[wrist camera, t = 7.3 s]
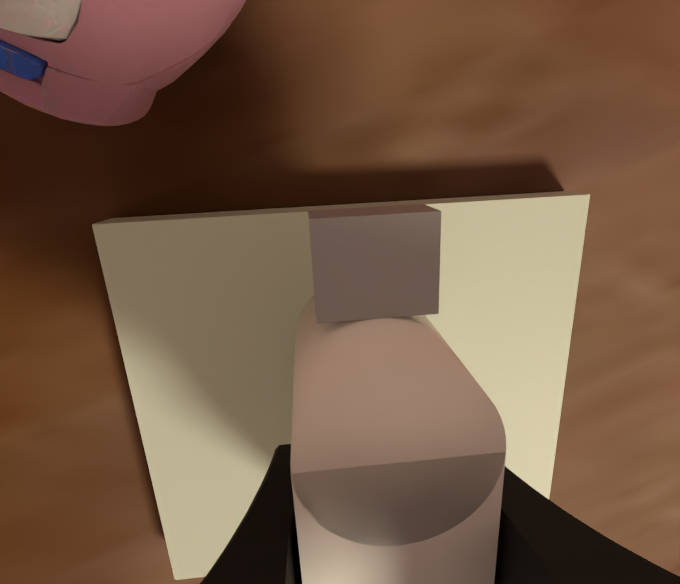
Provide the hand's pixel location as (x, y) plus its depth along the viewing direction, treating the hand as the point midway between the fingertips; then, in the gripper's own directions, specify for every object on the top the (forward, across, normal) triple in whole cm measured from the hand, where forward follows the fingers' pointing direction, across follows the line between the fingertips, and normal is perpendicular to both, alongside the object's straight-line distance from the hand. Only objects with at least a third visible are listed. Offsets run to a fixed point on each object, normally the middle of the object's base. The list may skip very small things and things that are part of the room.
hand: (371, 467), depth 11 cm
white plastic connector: (+2, 0, 0) cm, 2 cm away
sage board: (+4, 0, 0) cm, 4 cm away
